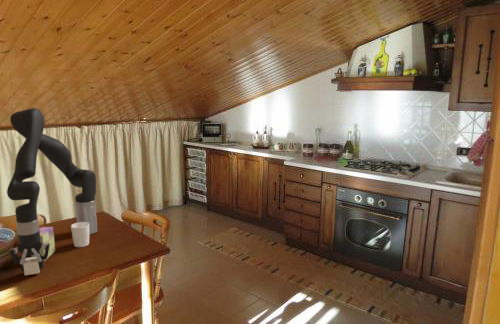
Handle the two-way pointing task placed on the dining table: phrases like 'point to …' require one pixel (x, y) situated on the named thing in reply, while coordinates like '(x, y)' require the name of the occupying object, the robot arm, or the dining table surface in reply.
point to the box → (46, 240)
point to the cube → (31, 266)
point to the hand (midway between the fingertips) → (32, 270)
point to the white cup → (80, 234)
